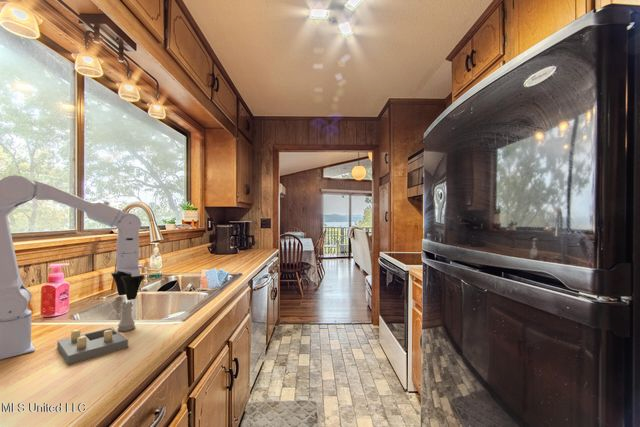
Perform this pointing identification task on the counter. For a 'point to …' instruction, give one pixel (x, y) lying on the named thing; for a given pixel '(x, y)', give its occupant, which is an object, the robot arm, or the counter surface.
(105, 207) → the robot arm
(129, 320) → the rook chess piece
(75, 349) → the pin board
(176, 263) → the counter surface
